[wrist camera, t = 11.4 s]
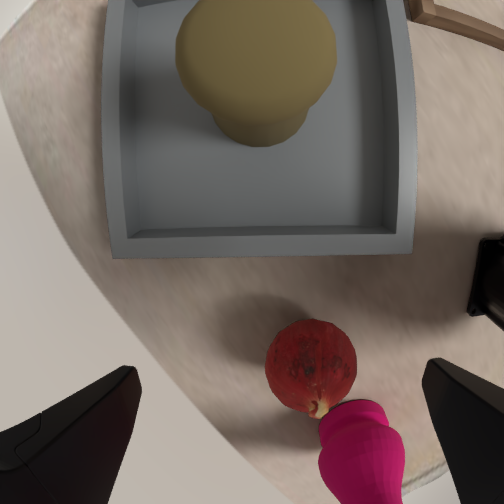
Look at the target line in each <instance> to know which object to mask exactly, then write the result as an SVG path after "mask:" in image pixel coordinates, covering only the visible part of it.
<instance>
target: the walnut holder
mask: <svg viewBox="0 0 504 504" xmlns="http://www.w3.org/2000/svg"><path fill="white" fill-rule="evenodd" d="M408 2H409V7H410V12H411V17H412V22H416V23H420V24H424V25H428V26H432V27H436V28H439V29H443V30H446V31H450V32H453V33H456V34H459V35H462V36H465V37H468V38H471V39H474V40H477V41H480V42H482V43H485V44H488V45H490V46H493V47H495V48H498V49H500V50H503V51H504V30H503V29H501V28H498V27H496V26H494V25H491V24H489V23H487V22H484V21H482V20H479V19H477V18H474V17H472V16H469V15H466V14H463V13H461V12H458V11H455V10H452V9H449V8H446V7H443V6H439V5H436V4H434V2H433V0H408Z"/></svg>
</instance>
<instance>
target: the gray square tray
mask: <svg viewBox="0 0 504 504" xmlns="http://www.w3.org/2000/svg"><path fill="white" fill-rule="evenodd" d="M198 1H199V0H108V6H107V15H106V24H105V35H104V47H103V63H102V90H101V130H102V158H103V175H104V189H105V200H106V210H107V220H108V228H109V236H110V244H111V251H112V258H113V259H125V258H203V257H269V256H327V255H379V254H412V248H413V237H414V226H415V212H416V194H417V113H416V96H415V83H414V72H413V62H412V54H411V46H410V39H409V32H408V26H407V20H406V14H405V9H404V4H403V0H312V1H313V2H314V3H315V4H316V5H317V6H318V7H319V8H320V9H321V10H322V11H323V12H324V13H325V14H326V16H327V18H328V20H329V22H330V24H331V26H332V29H333V31H334V33H335V37H336V50H337V65H336V68H335V71H334V75H333V78H332V81H331V84H330V85H329V86H328V88H327V89H326V90H325V92H324V93H323V94H322V96H321V97H320V98H319V100H318V101H317V102H316V103H315V104H314V105H313V106H311V107H310V108H309V110H308V113H307V117H306V120H305V122H304V123H303V125H302V126H301V127H300V129H299V130H298V131H297V133H296V134H294V135H293V136H291V137H290V138H289V139H287V140H286V141H284V142H282V143H279V144H276V145H273V146H270V147H250V146H247V145H243V144H240V143H237V142H235V141H234V140H232V139H231V138H229V137H228V136H226V135H225V134H224V133H223V132H222V131H221V129H220V128H219V127H218V126H217V124H216V123H215V121H214V119H213V116H212V113H211V112H209V111H207V110H206V109H204V108H203V107H201V106H199V105H198V104H197V103H196V101H195V100H194V99H193V98H192V97H191V95H190V94H189V93H188V92H187V91H186V89H185V88H184V87H183V85H182V82H181V79H180V77H179V74H178V71H177V68H176V65H175V43H176V36H177V34H178V31H179V29H180V26H181V24H182V21H183V19H184V17H185V16H186V15H187V14H188V13H189V11H190V10H191V9H192V8H193V7H194V6H195V4H196V3H197V2H198Z"/></svg>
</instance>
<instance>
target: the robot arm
mask: <svg viewBox="0 0 504 504" xmlns="http://www.w3.org/2000/svg"><path fill="white" fill-rule="evenodd" d="M485 244H486V246H485ZM473 309H474V310H473ZM472 310H473V311H472ZM467 313H468V314H469V315H470V316H472V317H473V316H480V315H486V316H487V317H488V318H489V319H490V320H492V321H493V322H494V323H495V324H496V325H497V326H498V327H499V328H501V329H502V330H503V331H504V234H503V235H502V236H501V238H484V239H482V240H481V242H480V245H479V252H478V258H477V264H476V270H475V275H474V281H473V286H472V291H471V295H470V300H469V304H468V308H467ZM422 388H423V392H424V395H425V399H426V402H427V406H428V409H429V413H430V417H431V420H432V423H433V426H434V429H435V431H436V434H437V437H438V439H439V442H440V445H441V447H442V450H443V453H444V455H445V458H446V461H447V464H448V466H449V469H450V472H451V475H452V478H453V481H454V484H455V487H456V490H457V493H458V496H459V499H460V503H461V504H504V389H503V388H501V387H499V386H497V385H495V384H493V383H491V382H489V381H487V380H485V379H483V378H481V377H479V376H477V375H474V374H472V373H470V372H468V371H466V370H464V369H462V368H460V367H458V366H456V365H454V364H452V363H450V362H448V361H446V360H444V359H442V358H433V359H430V360H428V362H427V365H426V368H425V371H424V375H423V378H422ZM141 394H142V387H141V383H140V379H139V376H138V372H137V370H136V368H135V367H134V366H125V365H124V366H121V367H119V368H118V369H116V370H114V371H112V372H111V373H109V374H107V375H106V376H104V377H102V378H100V379H99V380H97V381H95V382H94V383H92V384H90V385H88V386H86V387H85V388H83V389H81V390H80V391H78V392H76V393H74V394H73V395H71V396H69V397H67V398H66V399H64V400H62V401H60V402H58V403H57V404H55V405H53V406H51V407H49V408H48V409H46V410H44V411H42V413H39V414H37V415H35V416H33V417H31V418H30V419H28V420H26V421H24V422H22V423H20V424H18V425H15V426H14V427H11V428H9V429H7V430H4V431H2V432H0V504H108V501H109V498H110V495H111V492H112V489H113V486H114V483H115V480H116V477H117V475H118V472H119V469H120V466H121V463H122V460H123V457H124V455H125V452H126V449H127V446H128V444H129V441H130V438H131V435H132V432H133V428H134V423H135V419H136V415H137V411H138V407H139V402H140V398H141Z"/></svg>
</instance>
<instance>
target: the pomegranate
mask: <svg viewBox="0 0 504 504" xmlns="http://www.w3.org/2000/svg"><path fill="white" fill-rule="evenodd" d="M265 374H266V377H267V380H268V383H269V386H270V388H271V390H272V392H273V393H274V395H275V396H276V397H277V398H278V399H279V400H280V401H281V402H282V403H283V404H284V405H285V406H287V407H289V408H292V409H295V410H297V411H300V412H309V413H308V414H309V417H312V418H316V419H321V418H322V417H323V416H324V415H325V414H326V413H328V412H329V408H330V407H332V406H334V405H336V404H337V403H338V402H339V401H340V400H342V399H343V398H344V397H345V396H346V395H347V394H348V393H349V391H350V389H351V387H352V385H353V382H354V380H355V378H356V375H357V358H356V353H355V349H354V347H353V345H352V343H351V341H350V339H349V337H348V336H347V335H346V334H345V332H343V331H342V330H341V329H339V328H338V327H336V326H335V325H334V324H332V323H329V322H325V321H320V320H316V319H307V320H301V321H296V322H294V323H293V324H291V325H290V326H288V327H286V328H285V329H283V330H282V331H280V332H279V333H278V335H277V336H276V338H275V339H274V341H273V342H272V344H271V345H270V347H269V350H268V352H267V358H266V363H265Z"/></svg>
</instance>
